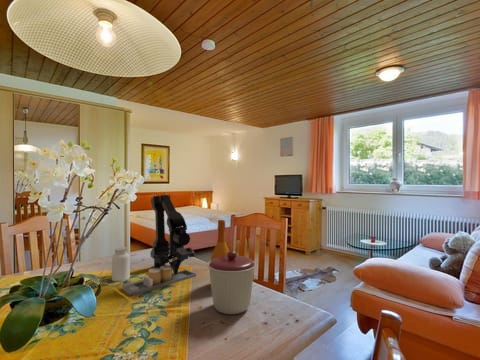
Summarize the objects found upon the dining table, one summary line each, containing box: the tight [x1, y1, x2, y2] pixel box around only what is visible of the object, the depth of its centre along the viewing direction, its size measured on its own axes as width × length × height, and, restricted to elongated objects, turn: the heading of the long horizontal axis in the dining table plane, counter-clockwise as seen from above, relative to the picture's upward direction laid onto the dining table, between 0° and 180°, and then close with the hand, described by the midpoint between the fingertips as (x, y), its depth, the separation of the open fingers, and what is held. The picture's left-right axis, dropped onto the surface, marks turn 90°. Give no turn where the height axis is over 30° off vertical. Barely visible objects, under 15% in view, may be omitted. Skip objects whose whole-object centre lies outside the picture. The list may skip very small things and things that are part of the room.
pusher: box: [123, 275, 153, 287], centre depth 113 cm, size 7×11×4 cm, turn 136°
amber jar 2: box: [160, 264, 173, 283], centre depth 123 cm, size 6×6×7 cm
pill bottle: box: [111, 246, 131, 282], centre depth 126 cm, size 8×8×15 cm
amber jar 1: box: [147, 268, 161, 286], centre depth 119 cm, size 6×6×7 cm
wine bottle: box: [210, 219, 230, 261], centre depth 118 cm, size 10×10×30 cm
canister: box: [207, 250, 257, 315], centre depth 98 cm, size 18×18×21 cm
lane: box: [122, 268, 197, 297], centre depth 121 cm, size 9×32×3 cm, turn 136°
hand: (175, 274), depth 126 cm, fingers closed
